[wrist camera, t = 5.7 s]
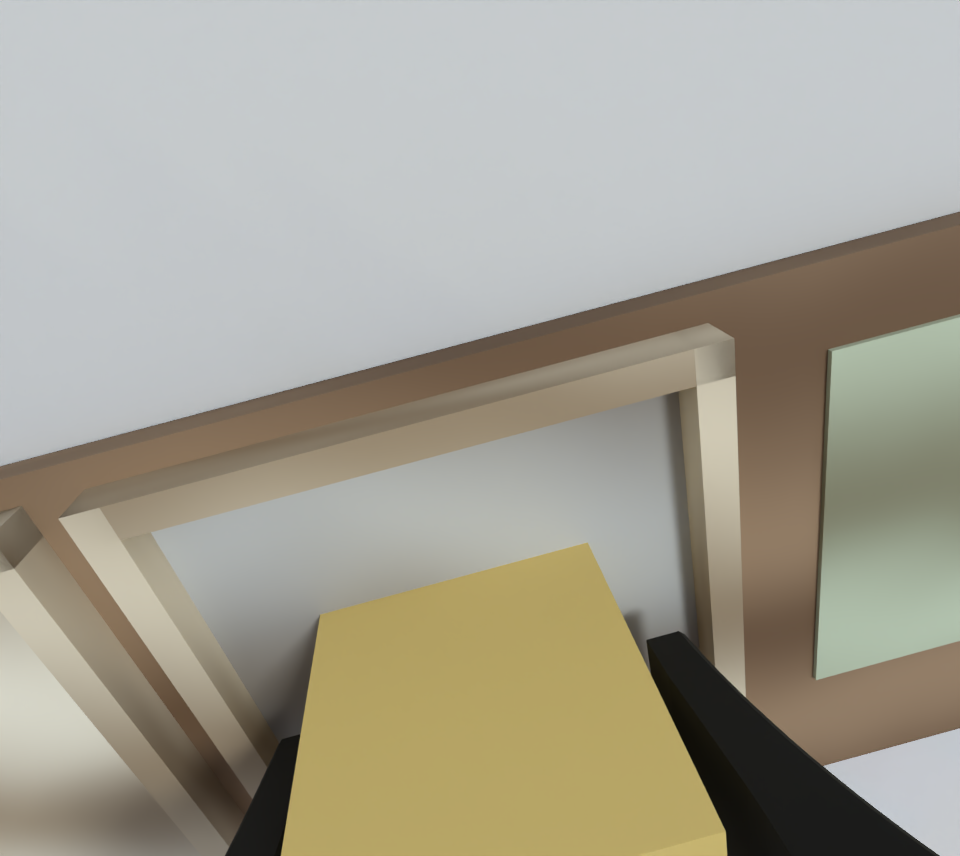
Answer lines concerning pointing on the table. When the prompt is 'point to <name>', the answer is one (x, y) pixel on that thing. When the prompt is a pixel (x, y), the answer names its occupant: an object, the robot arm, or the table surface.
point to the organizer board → (501, 532)
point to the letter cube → (493, 727)
